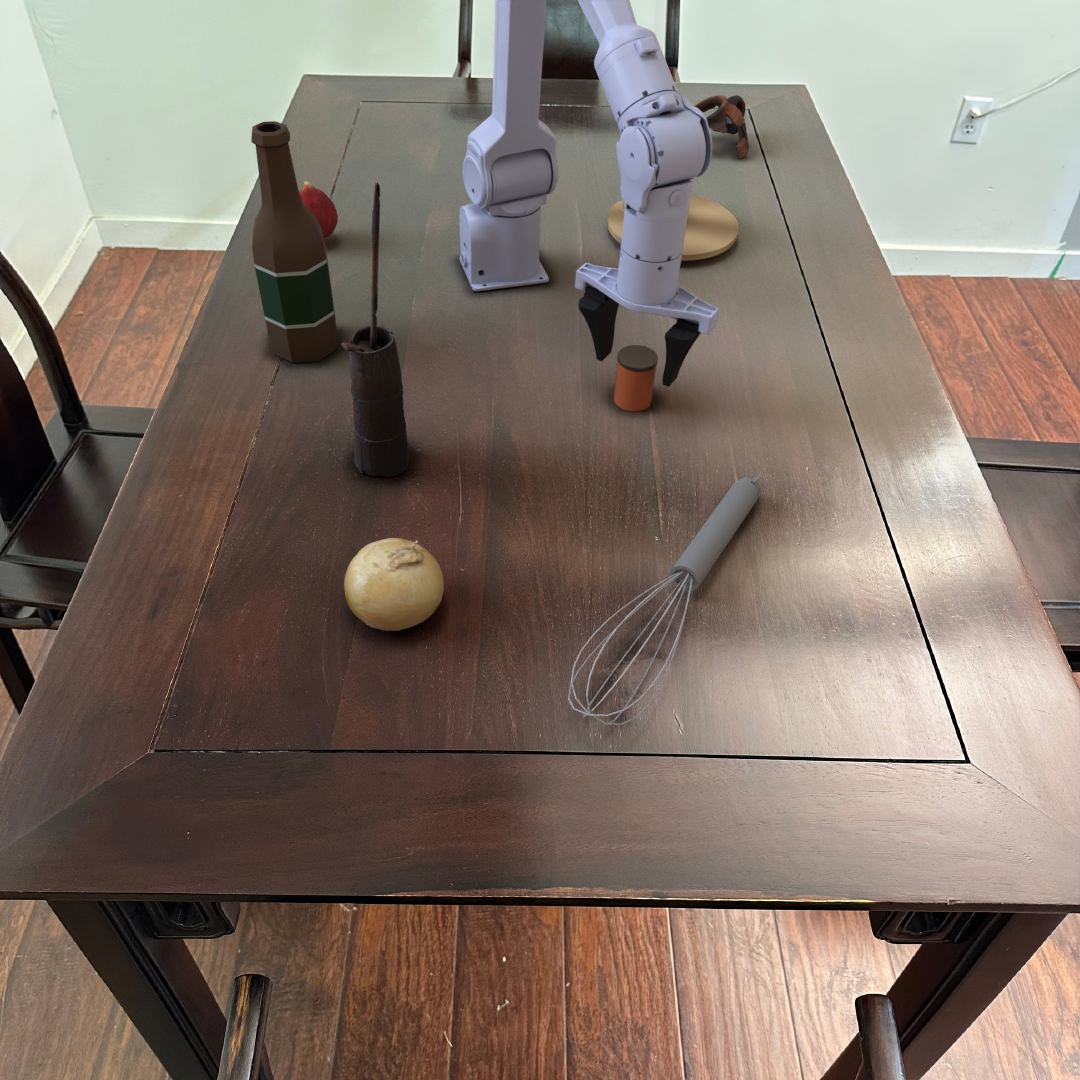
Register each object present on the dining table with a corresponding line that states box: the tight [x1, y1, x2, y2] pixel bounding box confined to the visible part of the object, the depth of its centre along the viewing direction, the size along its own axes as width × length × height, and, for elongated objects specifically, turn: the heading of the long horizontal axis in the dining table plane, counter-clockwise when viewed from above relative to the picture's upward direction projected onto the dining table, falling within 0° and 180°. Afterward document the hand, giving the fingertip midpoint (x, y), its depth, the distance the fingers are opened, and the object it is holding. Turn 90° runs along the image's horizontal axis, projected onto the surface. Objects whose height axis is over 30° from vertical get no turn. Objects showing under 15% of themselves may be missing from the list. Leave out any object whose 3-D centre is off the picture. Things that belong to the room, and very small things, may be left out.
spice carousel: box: [606, 193, 740, 262], centre depth 122 cm, size 17×17×10 cm
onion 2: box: [343, 537, 445, 632], centre depth 78 cm, size 8×8×7 cm
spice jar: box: [613, 344, 659, 412], centre depth 100 cm, size 4×4×6 cm
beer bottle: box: [251, 120, 339, 364], centre depth 98 cm, size 8×8×24 cm
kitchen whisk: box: [567, 472, 761, 728], centre depth 80 cm, size 6×34×6 cm, turn 149°
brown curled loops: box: [693, 94, 749, 160], centre depth 145 cm, size 12×10×8 cm
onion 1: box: [299, 180, 339, 241], centre depth 119 cm, size 6×6×8 cm
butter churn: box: [340, 182, 410, 478], centre depth 83 cm, size 9×10×28 cm
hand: (636, 368), depth 99 cm, fingers open, 7 cm apart
